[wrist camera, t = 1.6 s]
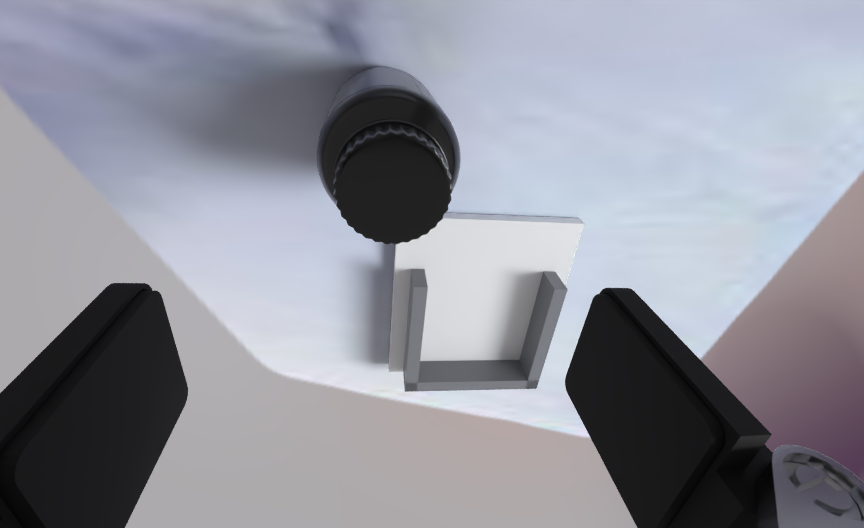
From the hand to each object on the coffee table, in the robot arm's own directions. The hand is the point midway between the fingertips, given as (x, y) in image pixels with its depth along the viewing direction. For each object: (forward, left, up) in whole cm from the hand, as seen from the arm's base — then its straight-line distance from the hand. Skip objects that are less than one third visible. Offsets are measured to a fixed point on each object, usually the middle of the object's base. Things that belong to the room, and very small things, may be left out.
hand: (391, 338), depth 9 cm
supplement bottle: (0, 0, -21) cm, 21 cm away
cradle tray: (+13, +8, -20) cm, 26 cm away
